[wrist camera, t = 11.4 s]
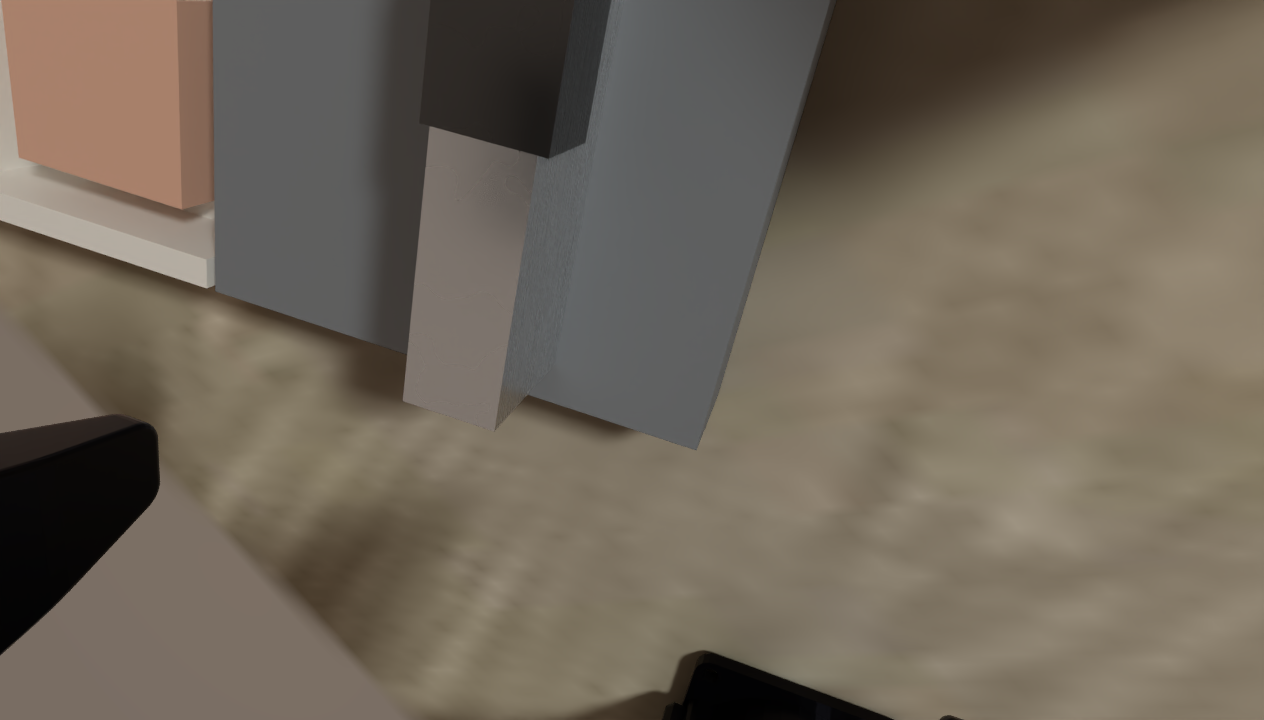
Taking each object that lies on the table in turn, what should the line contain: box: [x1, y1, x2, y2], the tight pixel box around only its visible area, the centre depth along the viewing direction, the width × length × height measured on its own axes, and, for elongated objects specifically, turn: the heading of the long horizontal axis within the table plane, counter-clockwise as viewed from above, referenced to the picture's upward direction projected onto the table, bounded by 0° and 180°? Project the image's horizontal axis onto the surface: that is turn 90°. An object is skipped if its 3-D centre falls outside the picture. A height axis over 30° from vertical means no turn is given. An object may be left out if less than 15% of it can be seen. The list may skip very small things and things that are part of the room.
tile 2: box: [1, 0, 214, 209], centre depth 21 cm, size 5×5×2 cm
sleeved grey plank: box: [403, 0, 623, 431], centre depth 14 cm, size 2×15×4 cm, turn 168°
